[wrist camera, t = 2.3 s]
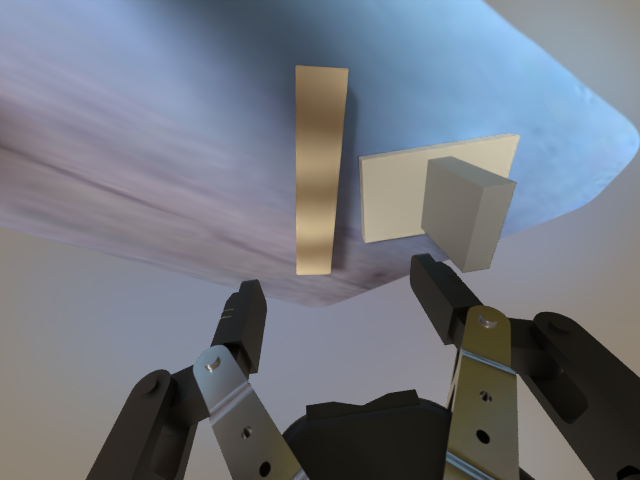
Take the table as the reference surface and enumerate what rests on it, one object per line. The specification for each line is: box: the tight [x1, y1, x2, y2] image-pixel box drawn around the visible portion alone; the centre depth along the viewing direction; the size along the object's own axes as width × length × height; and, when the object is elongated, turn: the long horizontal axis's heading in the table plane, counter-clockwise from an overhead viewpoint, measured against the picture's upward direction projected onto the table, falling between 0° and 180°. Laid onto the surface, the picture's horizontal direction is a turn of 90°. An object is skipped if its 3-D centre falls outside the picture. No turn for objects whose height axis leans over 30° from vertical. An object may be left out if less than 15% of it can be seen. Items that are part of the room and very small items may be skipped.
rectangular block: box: [295, 65, 349, 275], centre depth 25 cm, size 20×4×4 cm, turn 178°
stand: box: [359, 133, 520, 273], centre depth 23 cm, size 16×10×10 cm, turn 98°
